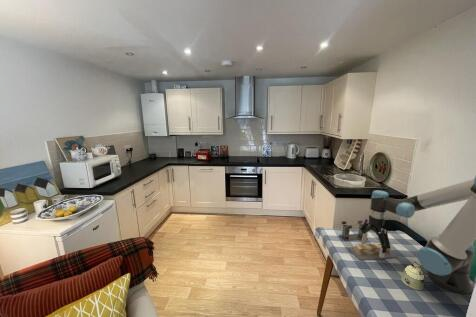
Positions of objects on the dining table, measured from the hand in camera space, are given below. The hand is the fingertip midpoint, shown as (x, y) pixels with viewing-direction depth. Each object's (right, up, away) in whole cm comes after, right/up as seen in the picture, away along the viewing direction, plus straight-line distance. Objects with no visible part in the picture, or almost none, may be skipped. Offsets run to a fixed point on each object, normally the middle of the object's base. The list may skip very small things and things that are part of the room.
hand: (372, 249), depth 117 cm
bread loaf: (0, -2, 0) cm, 2 cm away
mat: (0, -2, 0) cm, 2 cm away
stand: (-2, 0, +17) cm, 17 cm away
